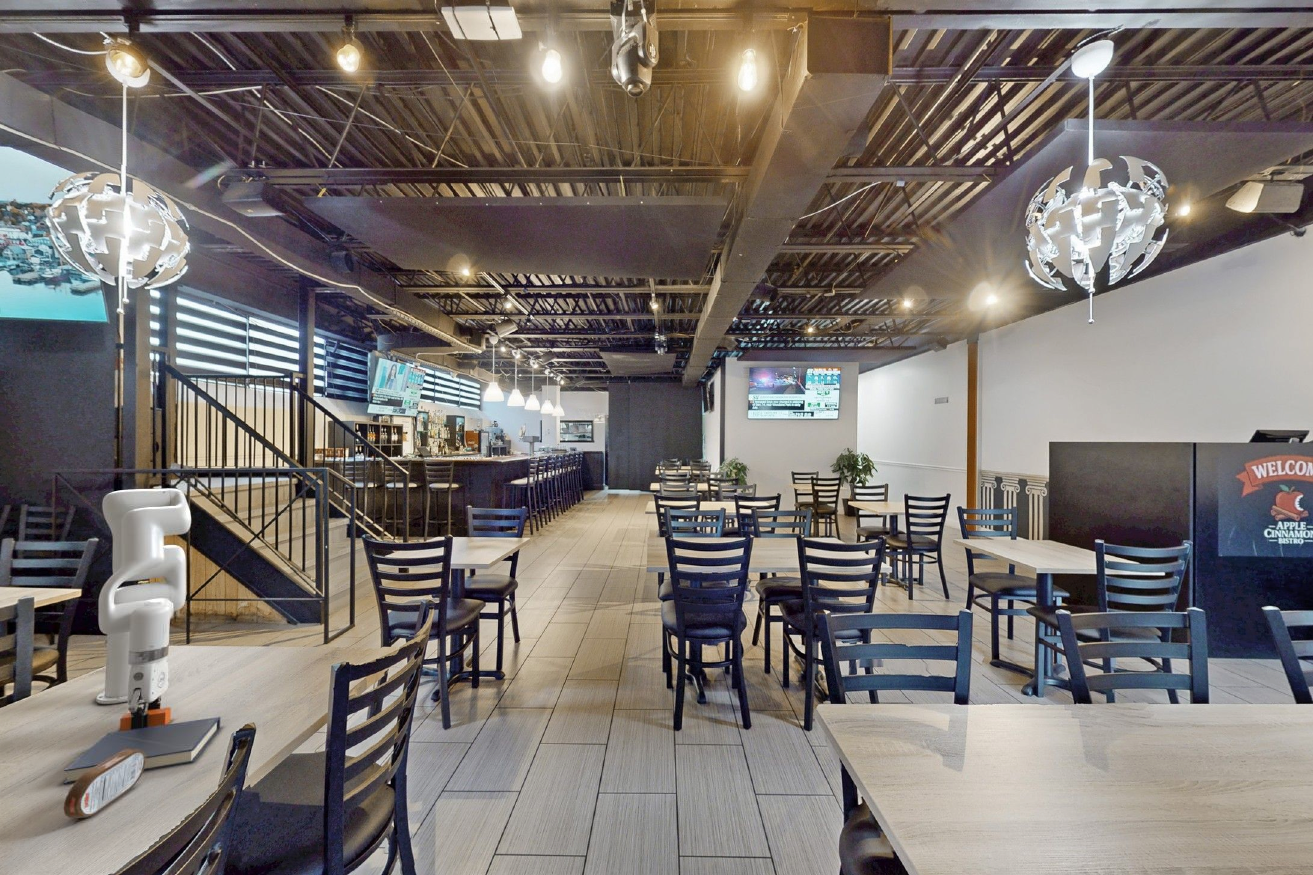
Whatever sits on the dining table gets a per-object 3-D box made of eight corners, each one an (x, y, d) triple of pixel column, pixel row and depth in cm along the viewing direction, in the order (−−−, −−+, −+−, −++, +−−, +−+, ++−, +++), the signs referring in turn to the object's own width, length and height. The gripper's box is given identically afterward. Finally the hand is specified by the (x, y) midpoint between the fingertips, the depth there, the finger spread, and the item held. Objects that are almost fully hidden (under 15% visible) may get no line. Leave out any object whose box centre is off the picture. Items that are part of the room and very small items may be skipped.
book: (107, 745, 127) (108, 732, 127) (220, 728, 136) (220, 716, 136) (63, 784, 112) (64, 770, 112) (192, 762, 121) (193, 749, 121)
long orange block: (126, 727, 136) (126, 713, 136) (170, 720, 139) (171, 707, 139) (119, 732, 133) (120, 718, 133) (165, 726, 136) (165, 712, 136)
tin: (133, 779, 114) (134, 740, 114) (148, 779, 114) (150, 740, 115) (60, 828, 99) (62, 783, 99) (78, 828, 99) (81, 782, 100)
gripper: (150, 664, 130) (147, 738, 129) (182, 641, 146) (179, 707, 145) (110, 668, 127) (107, 744, 127) (147, 644, 143) (144, 712, 142)
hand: (145, 724), depth 136 cm, fingers open, 5 cm apart
